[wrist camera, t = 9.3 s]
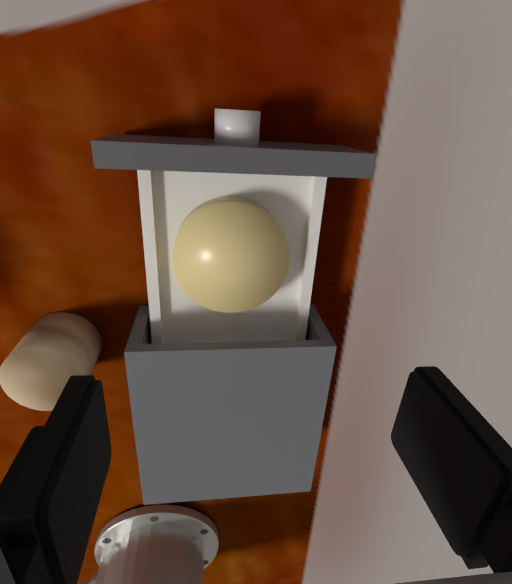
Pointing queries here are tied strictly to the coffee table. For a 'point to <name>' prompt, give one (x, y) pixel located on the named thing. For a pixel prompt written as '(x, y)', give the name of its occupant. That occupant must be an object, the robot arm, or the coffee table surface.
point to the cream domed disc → (230, 254)
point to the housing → (227, 413)
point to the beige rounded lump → (50, 359)
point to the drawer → (229, 182)
